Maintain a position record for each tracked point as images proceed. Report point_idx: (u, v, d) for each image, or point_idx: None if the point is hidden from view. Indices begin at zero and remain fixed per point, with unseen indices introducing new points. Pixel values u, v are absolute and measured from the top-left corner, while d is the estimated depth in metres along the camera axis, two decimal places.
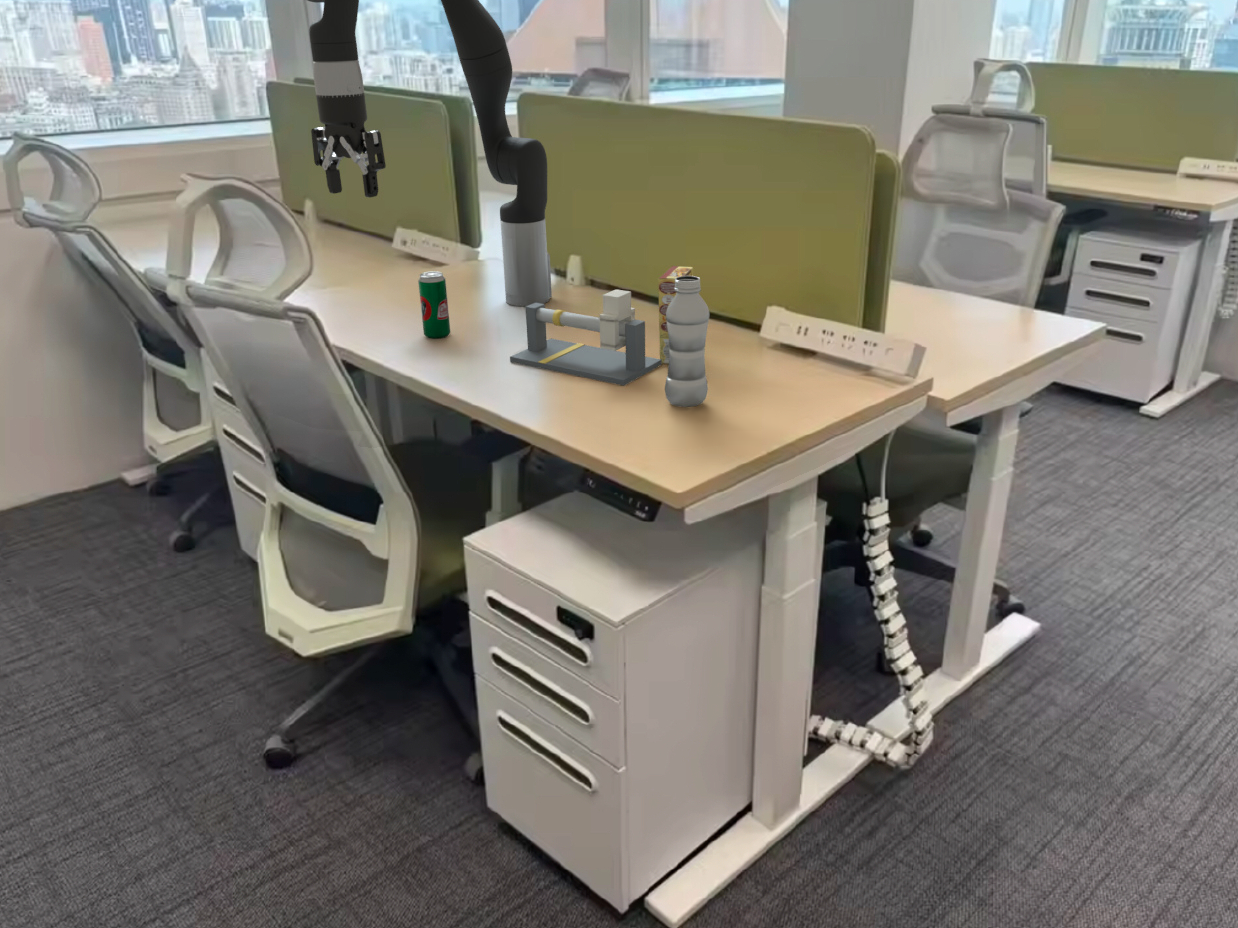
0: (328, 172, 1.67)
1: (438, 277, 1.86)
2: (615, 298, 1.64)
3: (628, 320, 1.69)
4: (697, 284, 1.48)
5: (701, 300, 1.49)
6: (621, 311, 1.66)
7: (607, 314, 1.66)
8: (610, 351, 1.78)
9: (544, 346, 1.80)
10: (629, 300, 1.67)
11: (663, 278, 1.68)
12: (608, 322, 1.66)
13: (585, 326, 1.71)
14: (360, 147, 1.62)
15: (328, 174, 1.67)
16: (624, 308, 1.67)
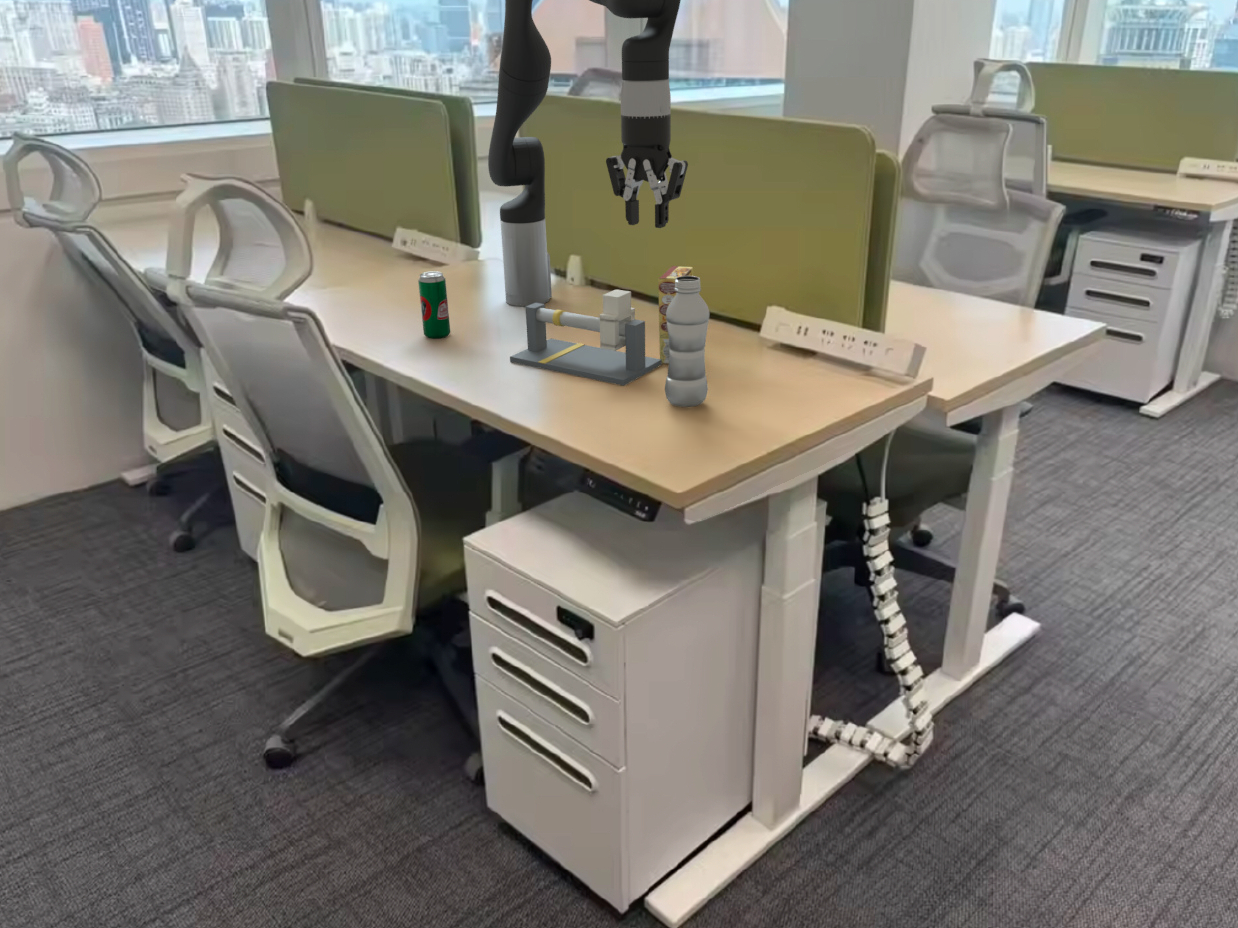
0: (630, 203, 1.57)
1: (438, 277, 1.86)
2: (615, 298, 1.64)
3: (628, 320, 1.69)
4: (697, 284, 1.48)
5: (701, 300, 1.49)
6: (621, 311, 1.66)
7: (607, 314, 1.66)
8: (610, 351, 1.78)
9: (544, 346, 1.80)
10: (629, 300, 1.67)
11: (663, 278, 1.68)
12: (608, 322, 1.66)
13: (585, 326, 1.71)
14: None
15: (629, 205, 1.57)
16: (624, 308, 1.67)
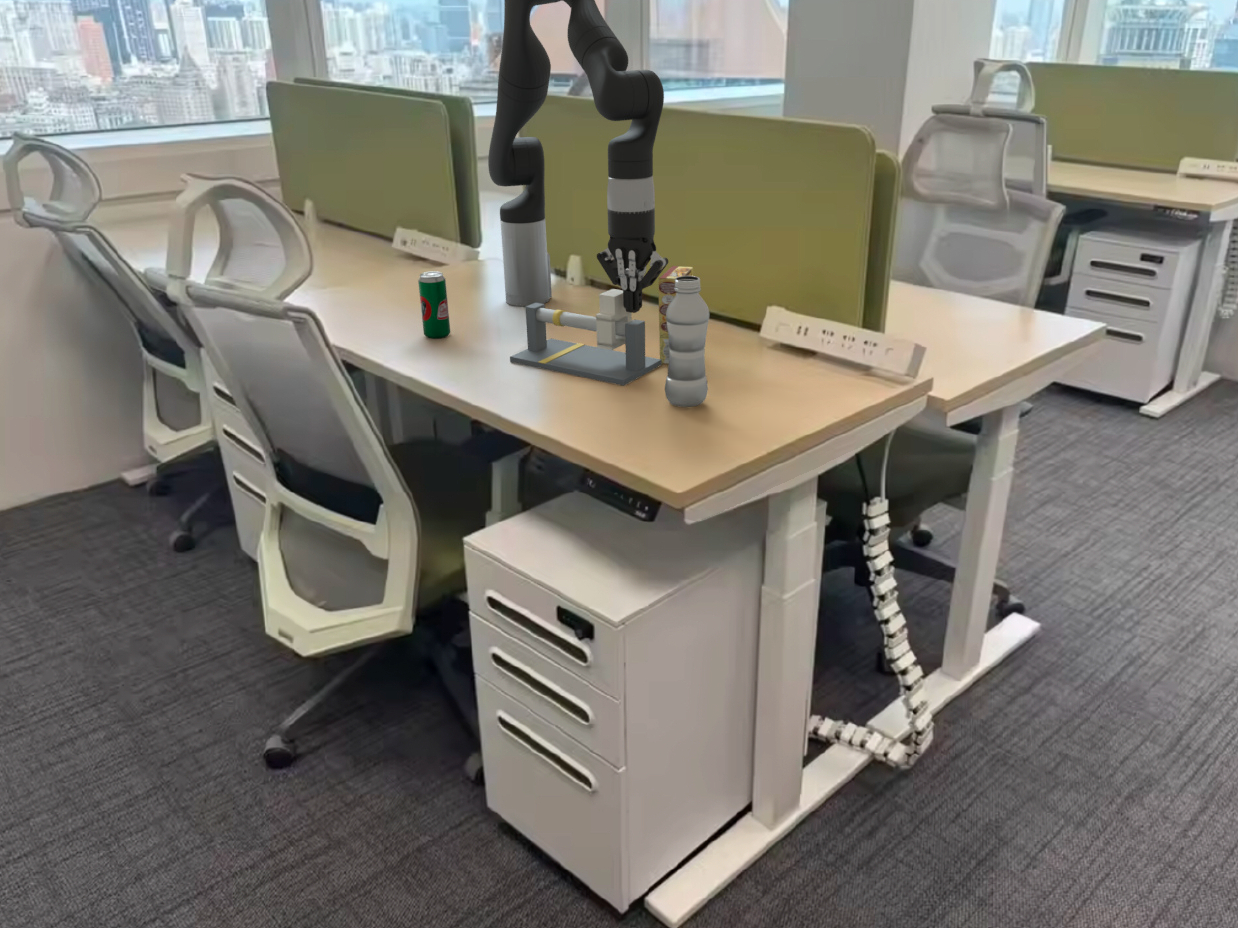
0: (627, 292, 1.64)
1: (438, 277, 1.86)
2: (612, 298, 1.65)
3: (625, 319, 1.70)
4: (697, 284, 1.48)
5: (701, 300, 1.49)
6: (618, 310, 1.66)
7: (604, 313, 1.66)
8: (610, 351, 1.78)
9: (544, 346, 1.80)
10: None
11: (663, 278, 1.68)
12: (604, 322, 1.66)
13: (585, 326, 1.71)
14: None
15: (627, 294, 1.64)
16: (621, 307, 1.67)
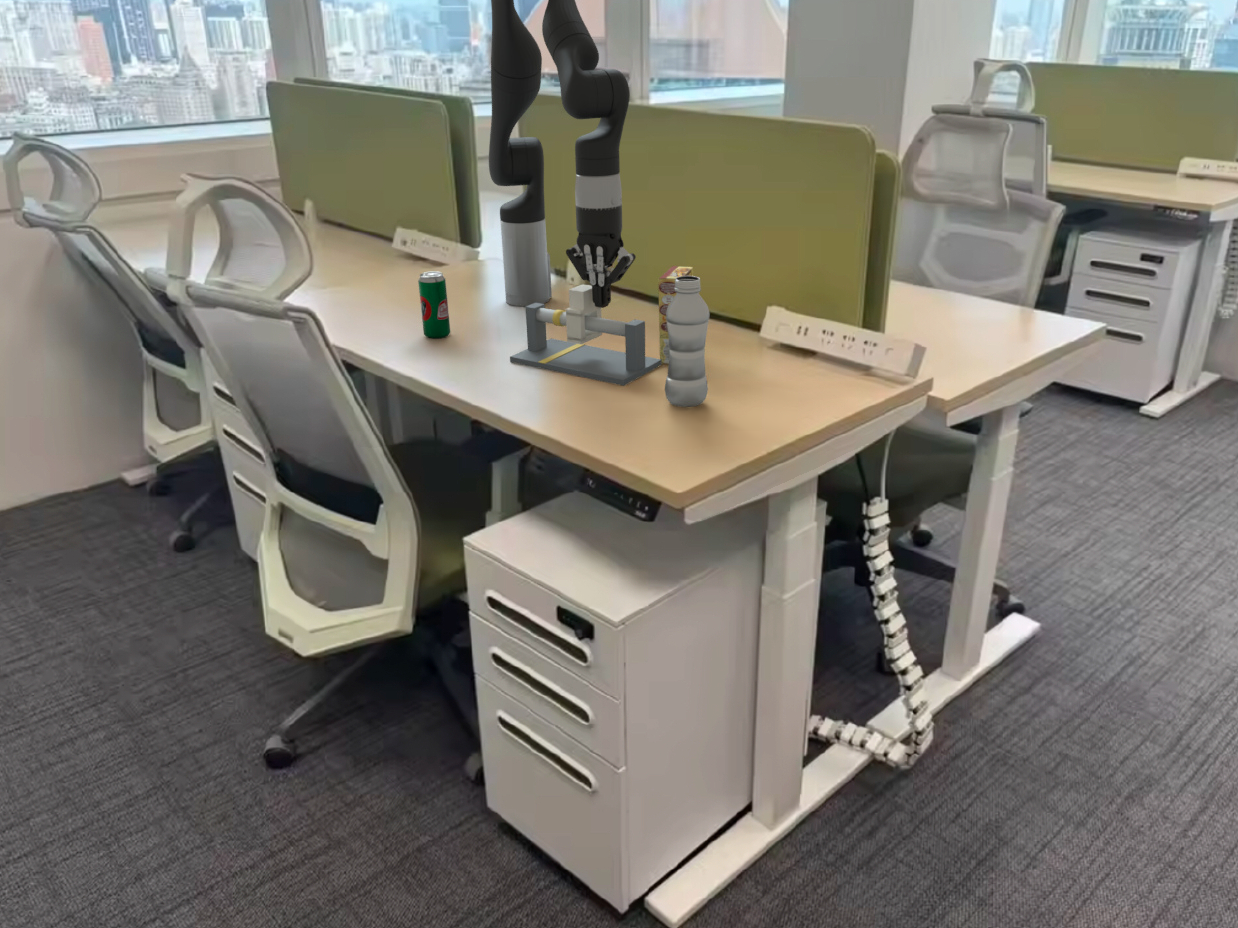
0: (596, 287, 1.67)
1: (438, 277, 1.86)
2: (581, 293, 1.68)
3: (594, 314, 1.73)
4: (697, 284, 1.48)
5: (701, 300, 1.49)
6: (587, 305, 1.69)
7: (573, 308, 1.70)
8: (610, 351, 1.78)
9: (544, 346, 1.80)
10: None
11: (663, 278, 1.68)
12: (574, 316, 1.69)
13: (585, 326, 1.71)
14: None
15: (596, 289, 1.67)
16: (590, 302, 1.70)
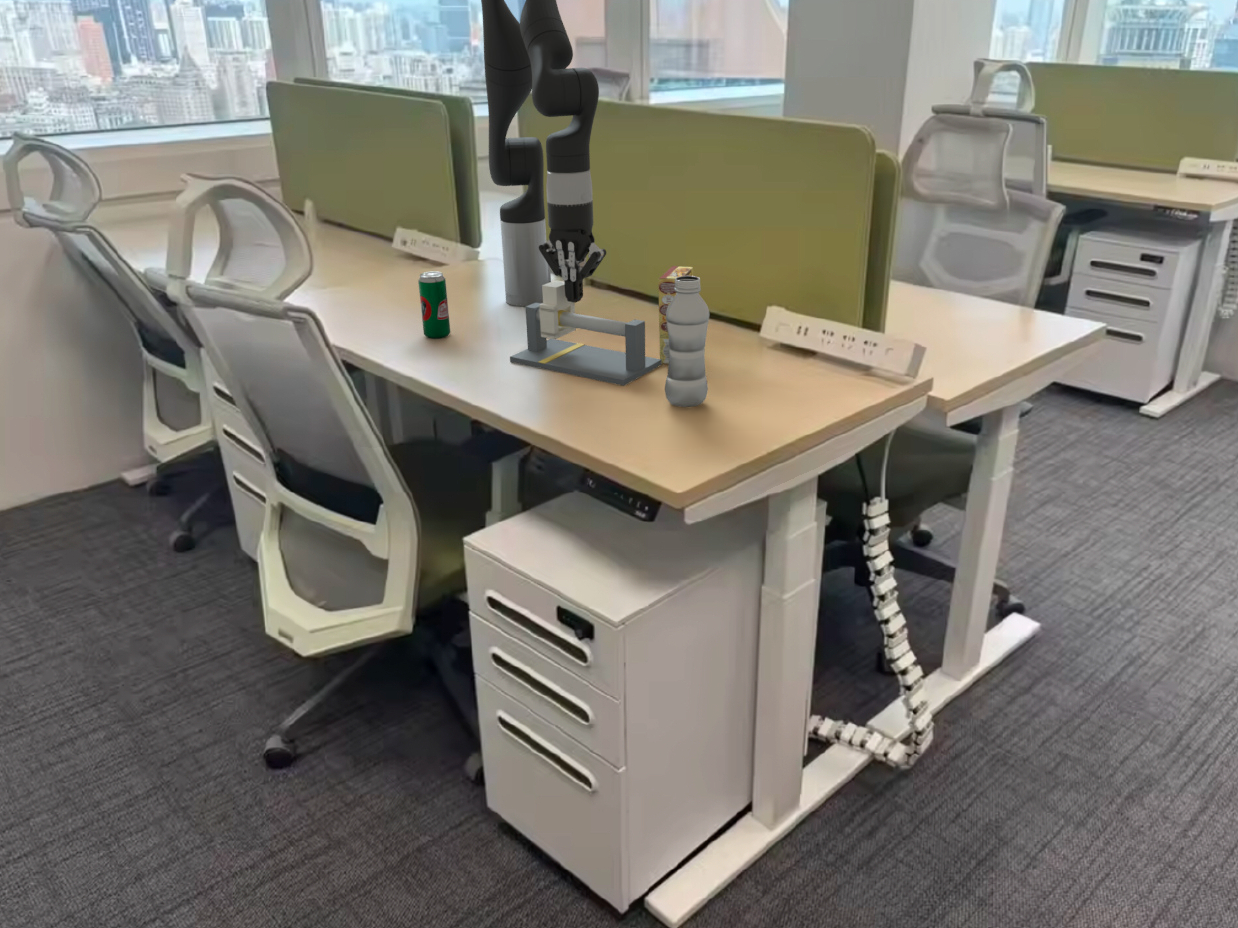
0: (568, 282, 1.70)
1: (438, 277, 1.86)
2: (554, 288, 1.71)
3: (568, 310, 1.76)
4: (697, 284, 1.48)
5: (701, 300, 1.49)
6: (560, 301, 1.72)
7: (546, 304, 1.72)
8: (610, 351, 1.78)
9: (544, 346, 1.80)
10: None
11: (663, 278, 1.68)
12: (547, 312, 1.72)
13: (585, 326, 1.71)
14: None
15: (568, 284, 1.70)
16: (563, 298, 1.73)
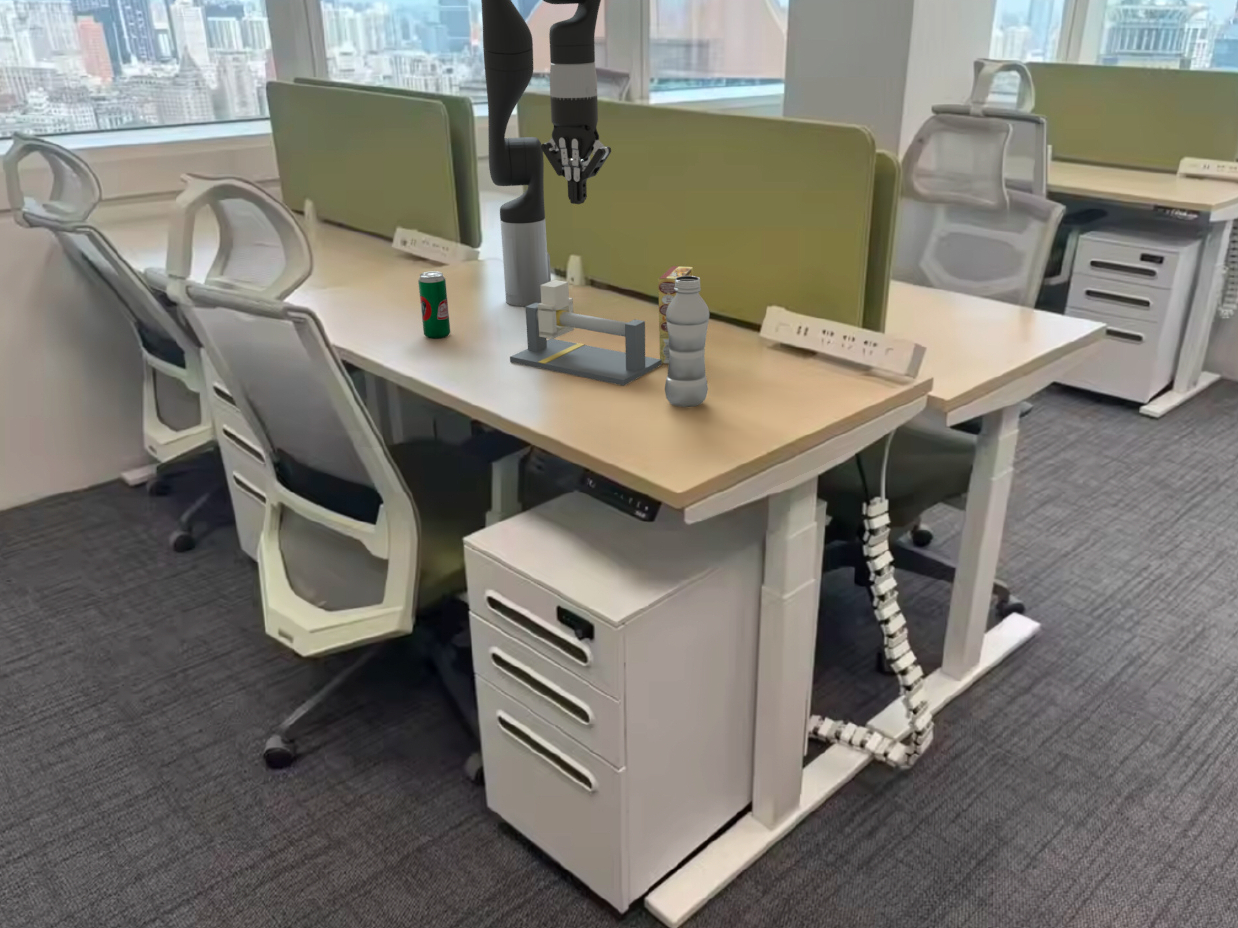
0: (571, 182, 1.65)
1: (438, 277, 1.86)
2: (552, 288, 1.71)
3: (566, 309, 1.76)
4: (697, 284, 1.48)
5: (701, 300, 1.49)
6: (558, 301, 1.73)
7: (545, 303, 1.73)
8: (610, 351, 1.78)
9: (544, 346, 1.80)
10: (567, 290, 1.74)
11: (663, 278, 1.68)
12: (545, 311, 1.72)
13: (585, 326, 1.71)
14: None
15: (571, 184, 1.65)
16: (561, 298, 1.73)
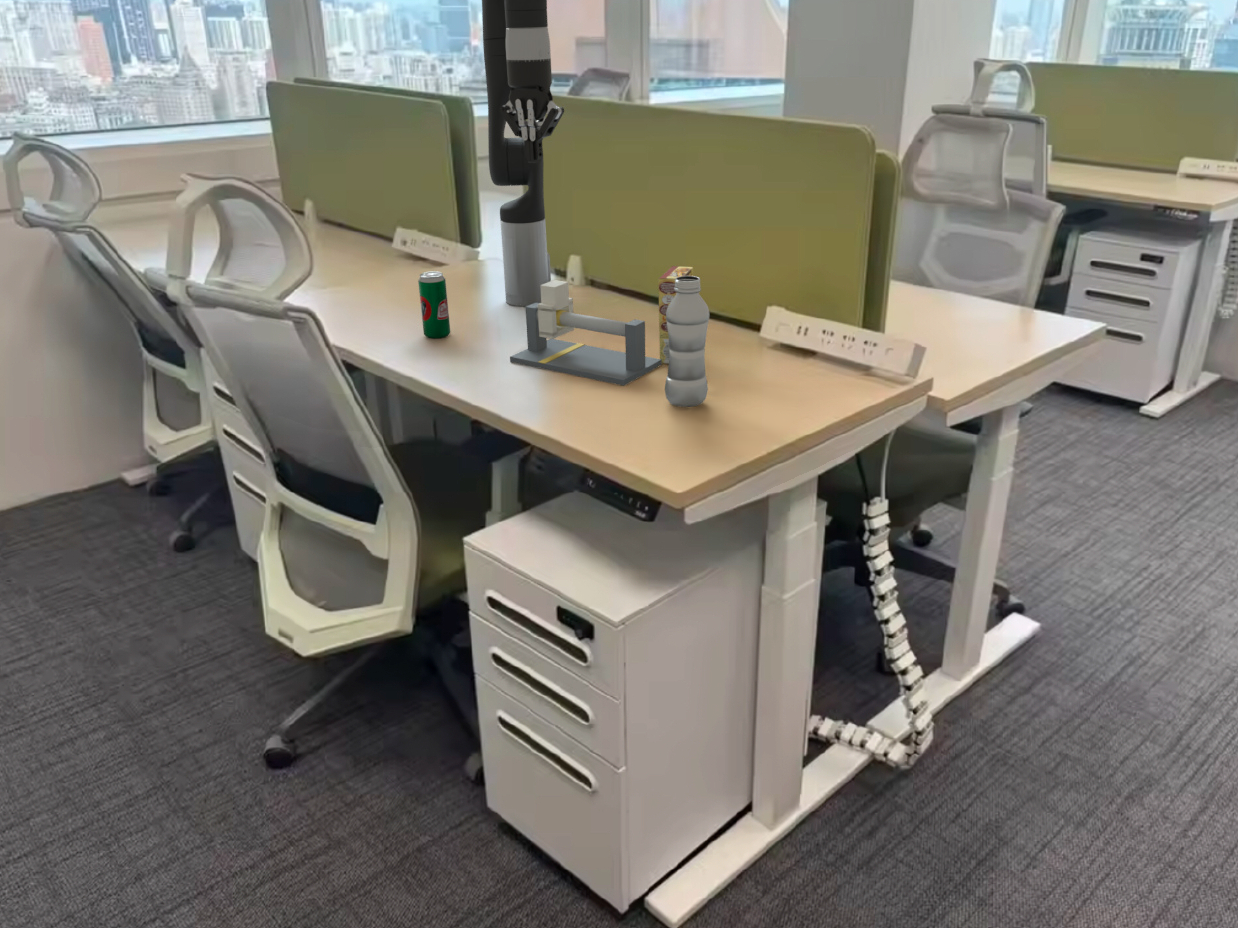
0: (528, 142, 1.75)
1: (438, 277, 1.86)
2: (552, 288, 1.71)
3: (566, 309, 1.76)
4: (697, 284, 1.48)
5: (701, 300, 1.49)
6: (558, 301, 1.73)
7: (545, 303, 1.73)
8: (610, 351, 1.78)
9: (544, 346, 1.80)
10: (567, 290, 1.74)
11: (663, 278, 1.68)
12: (545, 311, 1.72)
13: (585, 326, 1.71)
14: None
15: (528, 144, 1.75)
16: (561, 298, 1.73)
